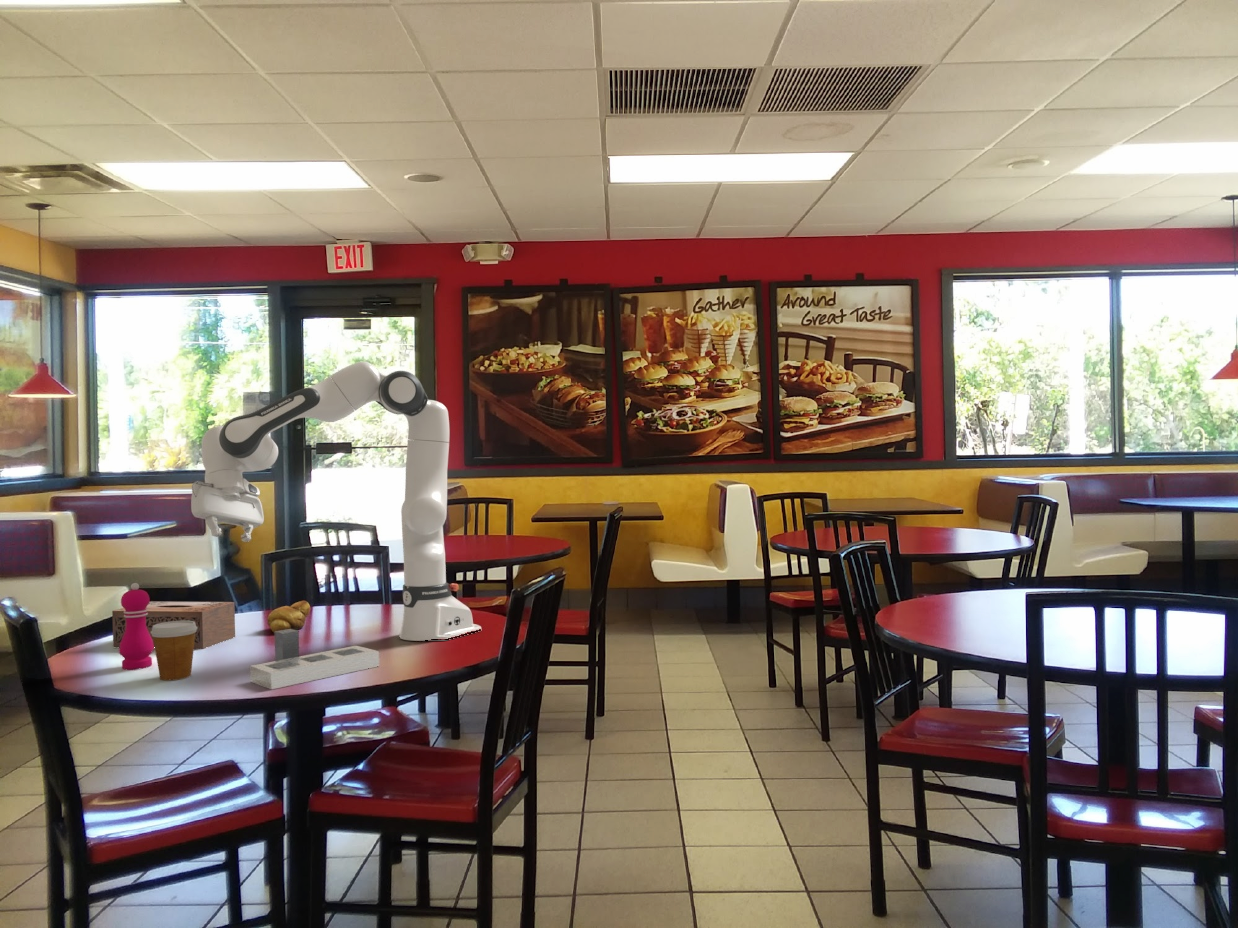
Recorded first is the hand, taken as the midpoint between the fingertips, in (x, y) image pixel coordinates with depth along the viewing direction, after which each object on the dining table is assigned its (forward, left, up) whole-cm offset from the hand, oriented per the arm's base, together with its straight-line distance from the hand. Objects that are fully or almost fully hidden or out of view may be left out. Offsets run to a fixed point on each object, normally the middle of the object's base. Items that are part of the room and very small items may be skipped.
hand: (232, 538), depth 221 cm
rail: (-4, +33, -29) cm, 44 cm away
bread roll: (-24, -22, -30) cm, 44 cm away
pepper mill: (+20, -8, -30) cm, 37 cm away
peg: (-4, +19, -29) cm, 35 cm away
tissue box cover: (+3, -30, -30) cm, 43 cm away
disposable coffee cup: (+18, +10, -30) cm, 36 cm away
